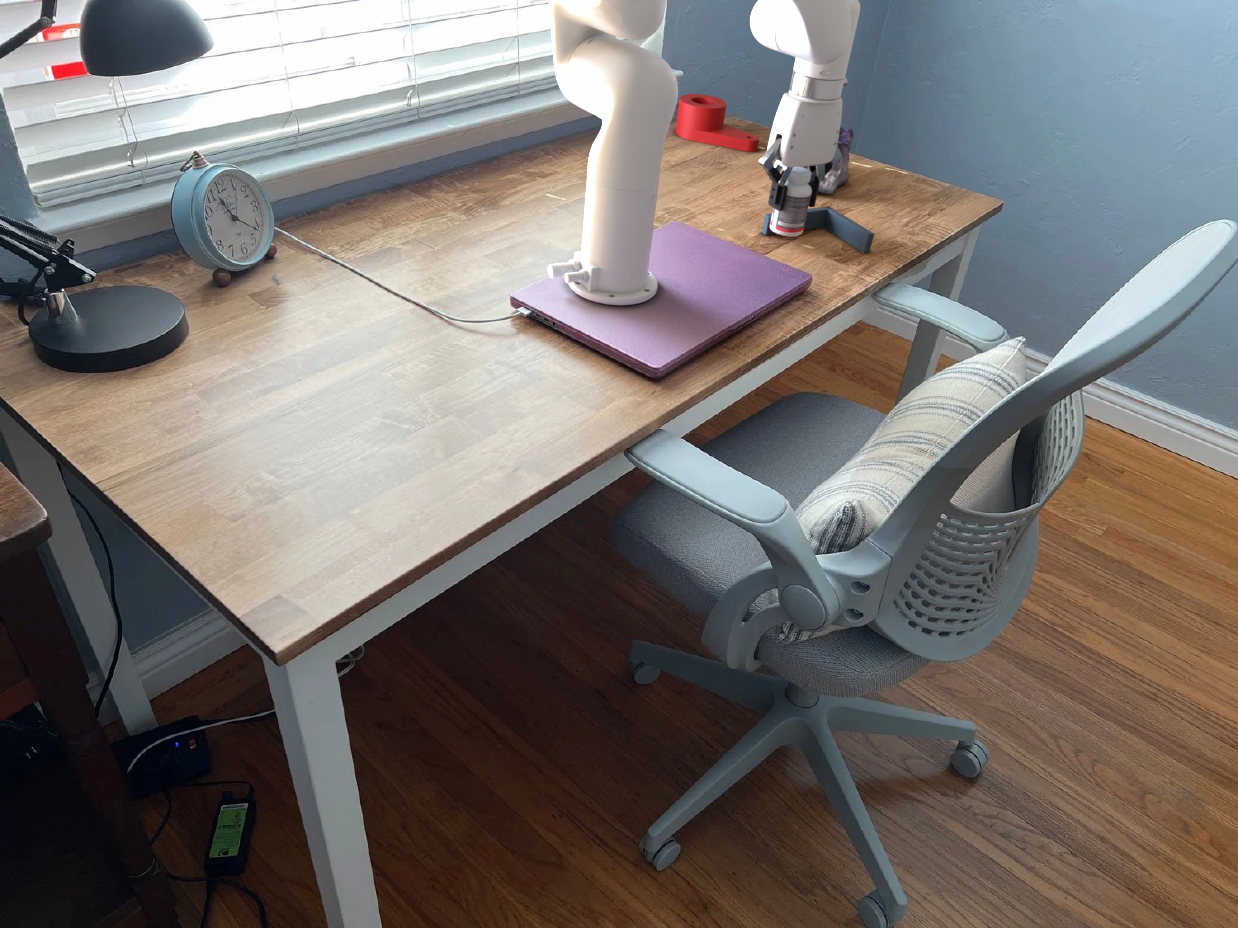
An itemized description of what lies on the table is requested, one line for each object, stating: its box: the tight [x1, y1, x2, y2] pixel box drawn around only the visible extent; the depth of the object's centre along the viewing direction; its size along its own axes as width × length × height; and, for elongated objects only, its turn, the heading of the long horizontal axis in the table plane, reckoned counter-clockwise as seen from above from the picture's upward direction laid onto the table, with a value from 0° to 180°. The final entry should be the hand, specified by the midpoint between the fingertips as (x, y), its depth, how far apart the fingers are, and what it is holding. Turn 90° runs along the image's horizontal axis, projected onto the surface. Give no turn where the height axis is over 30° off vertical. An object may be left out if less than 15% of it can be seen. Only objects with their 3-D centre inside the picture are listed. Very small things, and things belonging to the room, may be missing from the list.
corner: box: [761, 205, 875, 254], centre depth 153 cm, size 13×12×3 cm
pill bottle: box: [770, 167, 812, 238], centre depth 149 cm, size 5×5×10 cm
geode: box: [781, 126, 855, 195], centre depth 175 cm, size 20×12×10 cm, turn 155°
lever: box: [675, 93, 760, 153], centre depth 191 cm, size 18×9×7 cm, turn 57°
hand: (791, 205), depth 149 cm, fingers closed on pill bottle, 5 cm apart
